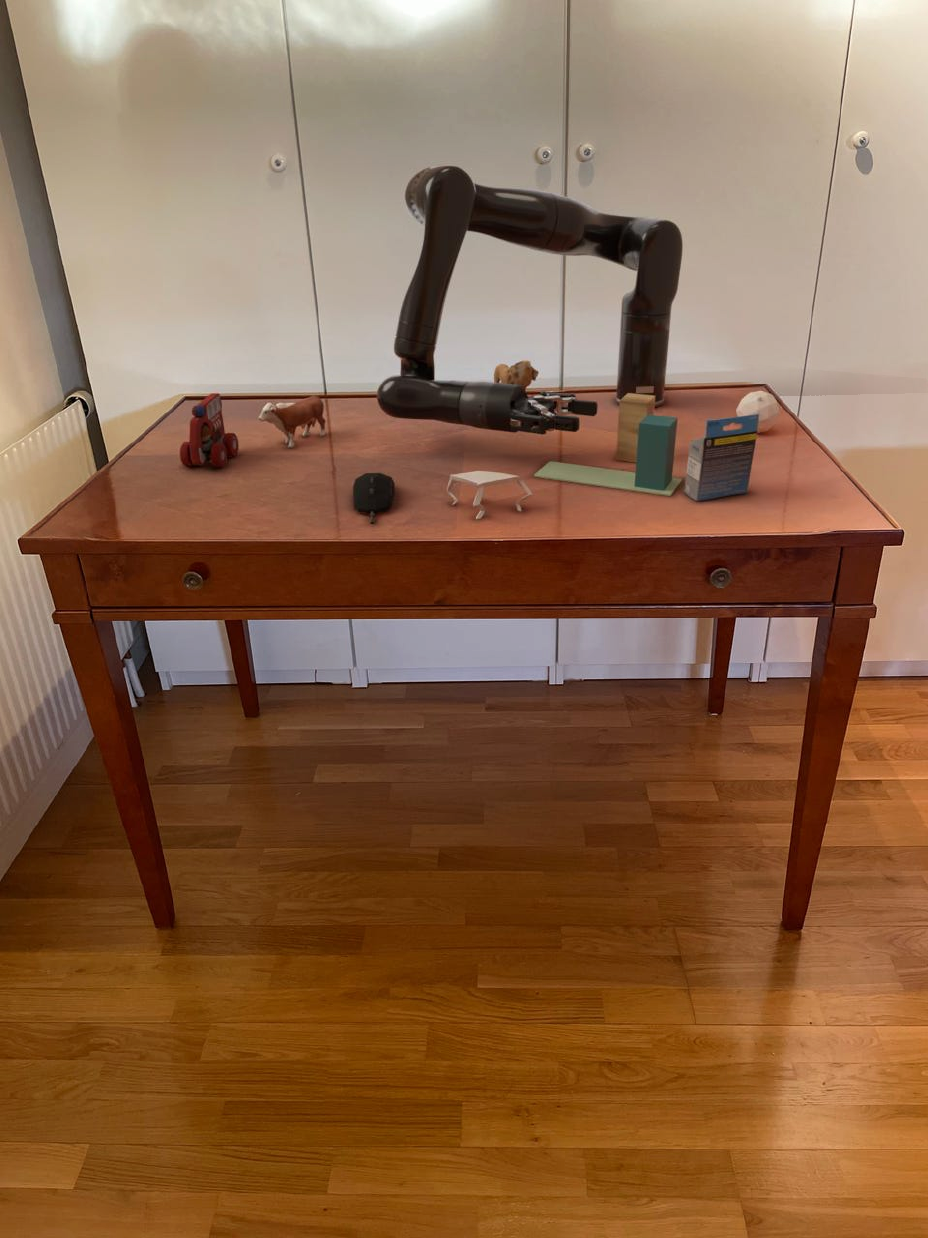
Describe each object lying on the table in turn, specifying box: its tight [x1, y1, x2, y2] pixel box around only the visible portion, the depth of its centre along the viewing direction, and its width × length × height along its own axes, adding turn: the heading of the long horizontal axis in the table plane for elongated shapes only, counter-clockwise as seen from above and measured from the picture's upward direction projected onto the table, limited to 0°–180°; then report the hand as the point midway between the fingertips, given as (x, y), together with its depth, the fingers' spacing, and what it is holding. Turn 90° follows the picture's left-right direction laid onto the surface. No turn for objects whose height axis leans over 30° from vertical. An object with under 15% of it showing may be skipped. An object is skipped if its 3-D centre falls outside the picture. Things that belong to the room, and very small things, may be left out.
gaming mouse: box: [352, 472, 396, 525], centre depth 132 cm, size 6×15×4 cm, turn 3°
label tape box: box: [683, 414, 759, 502], centre depth 129 cm, size 9×4×12 cm, turn 108°
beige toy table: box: [446, 470, 533, 520], centre depth 129 cm, size 12×8×5 cm
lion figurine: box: [493, 359, 540, 391], centre depth 175 cm, size 15×5×9 cm, turn 33°
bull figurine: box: [258, 394, 327, 449], centre depth 157 cm, size 4×13×8 cm, turn 137°
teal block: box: [634, 414, 679, 491], centre depth 133 cm, size 5×5×10 cm
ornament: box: [735, 390, 781, 434], centre depth 155 cm, size 7×7×8 cm
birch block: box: [615, 393, 656, 463], centre depth 145 cm, size 5×5×10 cm
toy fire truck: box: [179, 392, 240, 468], centre depth 149 cm, size 7×12×10 cm, turn 171°
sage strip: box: [533, 460, 683, 497], centre depth 139 cm, size 7×22×1 cm, turn 64°
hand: (587, 416), depth 138 cm, fingers open, 8 cm apart
